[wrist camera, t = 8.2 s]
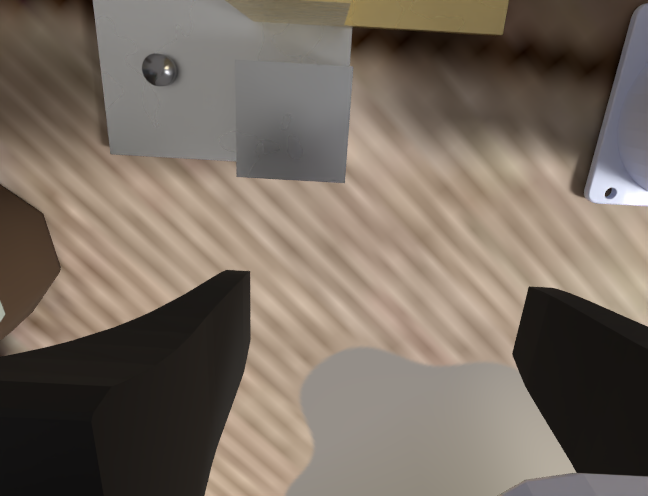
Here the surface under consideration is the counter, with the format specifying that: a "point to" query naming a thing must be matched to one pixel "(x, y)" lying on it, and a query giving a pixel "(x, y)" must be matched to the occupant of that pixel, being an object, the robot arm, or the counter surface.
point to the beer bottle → (23, 260)
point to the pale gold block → (384, 14)
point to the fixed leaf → (225, 87)
